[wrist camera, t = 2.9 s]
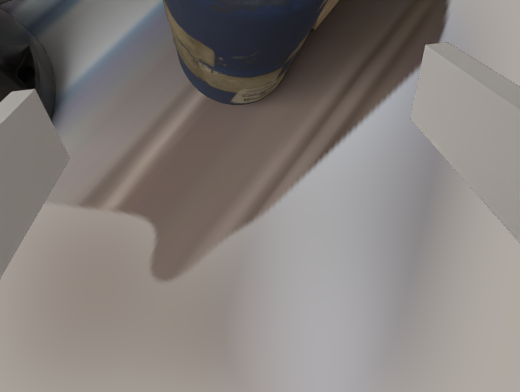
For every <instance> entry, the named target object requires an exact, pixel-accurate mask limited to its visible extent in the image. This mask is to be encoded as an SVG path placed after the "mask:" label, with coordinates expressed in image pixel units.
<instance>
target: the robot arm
mask: <svg viewBox="0 0 520 392" xmlns="http://www.w3.org/2000/svg"><path fill="white" fill-rule="evenodd" d="M8 1H11V0H0V4H3V3H5V2H8ZM55 91H56V87H55V78H54V72H53V68H52V65H51V62H50V60H49V57H48V55H47V53H46V52H45V50H44V48H43V47H42V45H41V44H40V42H39V41H38V40H37V39H36V38H35V37H34V36H33V35H32V34H31V33H30V32H29V31H28V30H27V29H26V28H25V27H23V26H22V25H21V24H20V23H19V22H17V21H16V20H15V19H14V18H13V17H12V16H10V15H9V14H7V13H6V12H4V11H3V10H1V9H0V278H1V276H2V275H3V273H4V271H5V269H6V268H7V266H8V264H9V263H10V261H11V259H12V257H13V256H14V254H15V252H16V250H17V249H18V247H19V245H20V244H21V242H22V240H23V238H24V236H25V235H26V233H27V231H28V230H29V228H30V226H31V225H32V223H33V221H34V219H35V218H36V216H37V214H38V213H39V211H40V209H41V207H42V206H43V204H44V202H45V201H46V199H47V197H48V195H49V194H50V192H51V190H52V188H53V187H54V185H55V183H56V182H57V180H58V178H59V176H60V175H61V173H62V171H63V169H64V168H65V166H66V164H67V163H68V161H69V159H70V157H69V155H68V153H67V151H66V149H65V147H64V145H63V143H62V141H61V139H60V137H59V135H58V133H57V132H56V130H55V128H54V126H53V124H52V122H51V120H50V119H51V116H52V113H53V108H54V103H55ZM410 119H411V120H412V121H413V122H414V124H415V125H416V126H417V127H418V128H419V129H420V130H421V132H422V133H423V134H424V135H425V136H426V137H427V138H428V140H429V141H430V142H431V143H432V144H433V145H434V146H435V147H436V148H437V150H438V151H439V152H440V153H441V154H442V155H443V156H444V158H445V159H446V160H447V161H448V162H449V163H450V164H451V166H452V167H453V168H454V169H455V170H456V171H457V173H458V174H459V175H460V176H461V177H462V178H463V179H464V180H465V182H466V183H467V184H468V185H469V186H470V187H471V188H472V190H473V191H474V192H475V193H476V194H477V195H478V196H479V197H480V199H481V200H482V201H483V202H484V203H485V204H486V205H487V207H488V208H489V209H490V210H491V211H492V212H493V213H494V215H495V216H496V217H497V218H498V219H499V220H500V221H501V223H502V224H503V225H504V226H505V227H506V228H507V229H508V230H509V232H510V233H511V234H512V235H513V236H514V237H515V238H516V240H517V241H518V242H519V243H520V86H518V85H517V84H515V83H513V82H512V81H510V80H508V79H507V78H505V77H504V76H502V75H500V74H498V73H497V72H495V71H494V70H492V69H491V68H489V67H487V66H486V65H484V64H482V63H481V62H479V61H477V60H476V59H474V58H473V57H471V56H469V55H468V54H466V53H464V52H463V51H461V50H460V49H458V48H456V47H455V46H453V45H452V44H450V43H448V42H445V43H436V44H428V45H425V49H424V54H423V59H422V64H421V69H420V73H419V78H418V83H417V88H416V93H415V98H414V102H413V108H412V112H411V117H410Z"/></svg>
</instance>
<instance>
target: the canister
mask: <svg viewBox="0 0 520 392" xmlns="http://www.w3.org/2000/svg"><path fill="white" fill-rule="evenodd" d="M327 1H328V0H163V2H164V6H165V10H166V14H167V18H168V21H169V23H170V26H171V30H172V33H173V38H174V43H175V46H176V49H177V53H178V57H179V60H180V64H181V66H182V68H183V71H184V72H185V74H186V76H187V77H188V79H189V80H190V82H191V83H192V84H193V85H194V86H195V87H196V88H197V89H198V90H199V91H200V92H201V93H203V94H204V95H206V96H207V97H209V98H211V99H213V100H215V101H218V102H221V103H225V104H231V105H242V104H249V103H253V102H255V101H258V100H260V99H262V98H264V97H265V96H267V95H268V94H270V93H271V92H272V91H273V90H274V89H275V88H276V87H277V86H278V85H279V83H280V82H281V81H282V79H283V77H284V75H285V73H286V71H287V69H288V68H289V67H290V65H291V63H292V61H293V60H294V58H295V57H296V55H297V54H298V52H299V50H300V49H301V47H302V45H303V44H304V42H305V40H306V38H307V36H308V34H309V32H310V30H311V29H312V27H313V25H314V24H315V22H316V20H317V18H318V17H319V15H320V13H321V12H322V10H323V8H324V7H325V5H326V3H327Z"/></svg>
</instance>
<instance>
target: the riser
mask: <svg viewBox="0 0 520 392" xmlns="http://www.w3.org/2000/svg"><path fill="white" fill-rule="evenodd" d="M338 1H339V0H328V1H327V3H326V5H325V7H324V8H323V10H322V12H321V13H320V15H319V17H318V18H317V20H316V22H315V24H314V25H313V27H312V29H314V30H316V28H317V27H318V26H319V25H320V23H321V22H322V21H323V20H324V18H325V17H326V16H327V15H328V14H329V12H330V11H331V10H332V9H333V7H334V6H335V5H336V4H337V2H338Z"/></svg>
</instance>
